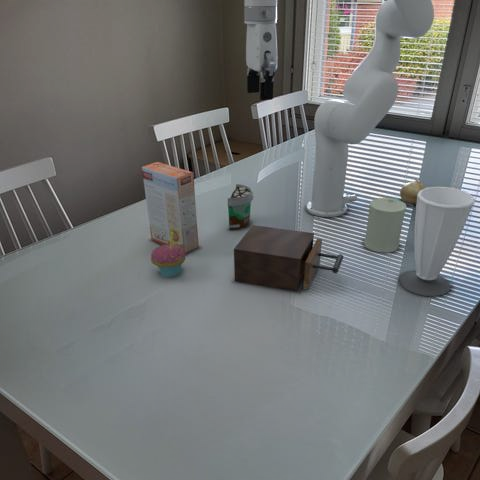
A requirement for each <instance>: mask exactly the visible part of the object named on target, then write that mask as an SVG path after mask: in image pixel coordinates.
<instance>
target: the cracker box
mask: <svg viewBox="0 0 480 480" xmlns="http://www.w3.org/2000/svg"><path fill="white" fill-rule="evenodd" d="M141 173H142V179H143V188H144V194H145V201H146V202H145V203H146V209H147V217H148V224H149V225H148V226H149V230H150V231H149V232H150V239H151V240H152V241H153V242H155V243H158V244H160V245H167V244H170V239H171V232H172V229H173V232H174V234H173V244H174V245H177V246H179V247H181V248H182V249H183V250H184V251H185V252H186V254H188V253H190V252H192V251H194V250H196V249H198V248H199V246H200V245H199V231H198V217H197V204H196V191H195V189H196V188H195V177H194V172H192V171H189V170H187V169H183V168H180V167H176V166H173V165H170V164H166V163H163V162H161V161H156V162H152V163H149V164H146V165H143V166H141Z"/></svg>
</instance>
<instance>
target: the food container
mask: <svg viewBox="0 0 480 480" xmlns="http://www.w3.org/2000/svg"><path fill="white" fill-rule="evenodd" d="M253 194H254V193H253V190H252V188H251V187H249V186H247V185H245V184H238V183H236V184H235V189H234V190H233V192H232V194H231V196H230V197H227V209H228V211H227V212H228V226H229V227H228V228H229V229H228V230H230V231H238V230H244V229H245V228H248V226H250V221H251V209H252V208H251V207H252V201H253V200H254V195H253Z"/></svg>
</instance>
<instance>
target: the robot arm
mask: <svg viewBox="0 0 480 480" xmlns="http://www.w3.org/2000/svg"><path fill="white" fill-rule="evenodd" d="M243 2H244V3H243V4H244V6H243V7H244V8H243V10H244V12H243V13H244V15H243V19H244V21H243V23H244V24H245V25H246V38H245V39H246V40H245V43H246V44H245V63H246V68H247V70H246V75H247V76H246V92H247V93H248V94H254V93H255V94H256V93H259V100H260V101H270V100H273V99H274V82H275V77H274V76H275V74H276V73H275V72H276V71H277V69H278V37H277V36H278V35H277V25H276V24H277V23H278V22H277V20H278V0H243ZM434 17H435V10H434V4H433V1H432V0H385V1H384V2H382V3H381V5H380V6H379V7H378V9H377V11H376V14H375V19H374V39H373V45H372V47H371V49H370V50H369V52H368V53H367V54H366V56H364V58H363V60H362V61H361V62H360V63H359V64H358V65H357V67H356V68H355V69H354V70H353V72H352V73H351V74H350V76H349V77H348V78H347V80H346V81H345V82H344V85H343V89H342V95H343V97H344V99H345V100H346V101H343V100H339V99H328V100H325V101H324V102H322V103H321V104H320V105H319V106H318V107H317V109H316V111H315V114H314V119H313V122H314V123H313V124H314V125H313V126H314V135H315V136H314V137H315V152H314V166H313V180H312V193H311V200H310V201H308V202H307V204H306V207H305V208H306V211H307V212H308V213H309V214H310V215H314V216H317V217H320V218H336V217H341V216H343V215H345V214H346V213H347V211H348V205H347V204H348V203H352V202H356V201H357V200H358V196H357V195H356V194H352V195H350V194H349V193H345V187H346V176H347V167H348V160H349V145H357V144H360V143H362V142H363V141H364V140H366V139H367V137H368V136H369V135H370V134H371V133H372V132H373V131H374V129H375V128H376V127H377V126H378V124H379V123H380V122H381V121H382V120H383V118H384V117H385V116H386V115H387V114H388V113H389V111H390V110H391V109H392V108H393V106H394V104H395V102H396V100H397V98H398V95H399V82H398V80H397V78H396V76H394V75H393V72H394V71H395V70H396V68H397V66H398V65H399V62H400V59H401V45H402V43H401V41H402V40H401V38H406V39H420V38H421V37H423V36H426V34H427V33H428V32H429V31H430V30H431V28H432V26H433V23H434V19H435V18H434ZM260 80H261V81H260Z"/></svg>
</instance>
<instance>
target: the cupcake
mask: <svg viewBox="0 0 480 480" xmlns="http://www.w3.org/2000/svg"><path fill="white" fill-rule="evenodd" d="M173 234H174V232H173V229H172V232H171V239H170V244H167V245H162V244H160V245H159V246H157V247H155V248H154V249H153V250H152V252H151V253H150V262H151V264H153V265H154V266H156V267H157V268H158V270H159V272H160V274H161V275H162V276H163V277H168V278H171V277H176V276H178V275H179V274H180V273H181V269H182V265H183V264H184V263H185V261H186V260H187V259H186V257H187V253H186V252H185V251H184V250H183V249H182V248H181V247H179V246H177V245H174V244H173Z"/></svg>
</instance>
